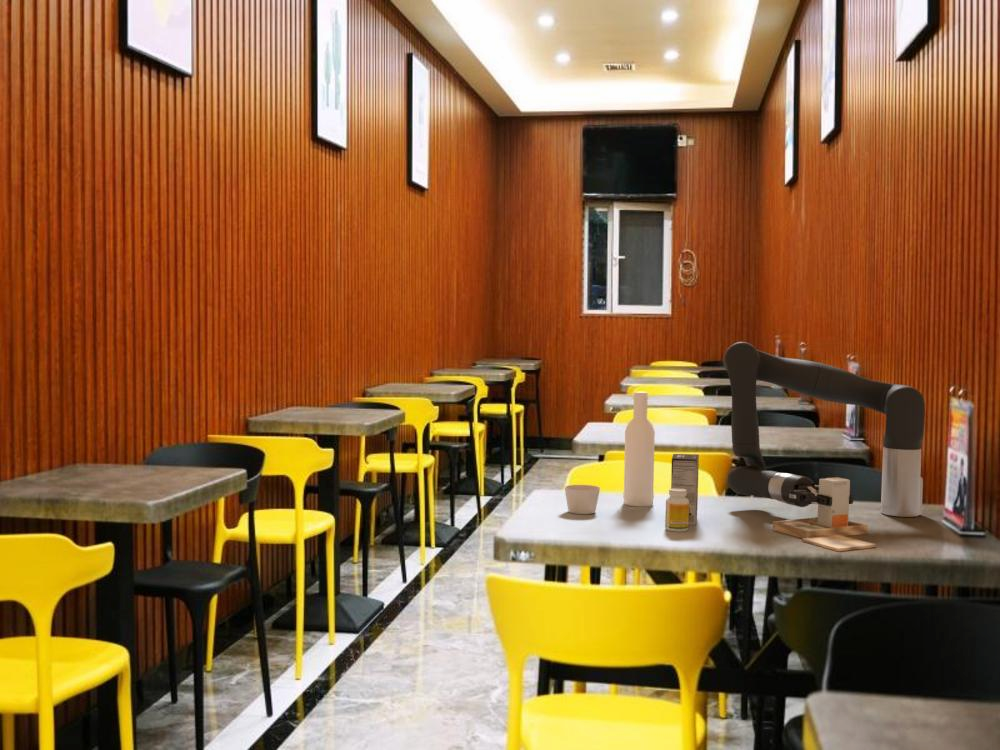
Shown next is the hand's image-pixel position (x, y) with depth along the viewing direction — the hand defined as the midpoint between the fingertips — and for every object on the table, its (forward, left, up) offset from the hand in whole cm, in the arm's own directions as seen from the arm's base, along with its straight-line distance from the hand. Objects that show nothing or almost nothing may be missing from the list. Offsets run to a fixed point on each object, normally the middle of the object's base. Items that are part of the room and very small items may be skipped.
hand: (841, 500), depth 241 cm
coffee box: (+26, -25, -8) cm, 37 cm away
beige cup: (+43, -45, -8) cm, 63 cm away
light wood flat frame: (+4, -2, -7) cm, 9 cm away
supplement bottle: (+34, -17, -8) cm, 39 cm away
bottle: (+23, -49, -8) cm, 55 cm away
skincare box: (0, -2, -7) cm, 8 cm away
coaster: (+10, +10, -7) cm, 16 cm away
